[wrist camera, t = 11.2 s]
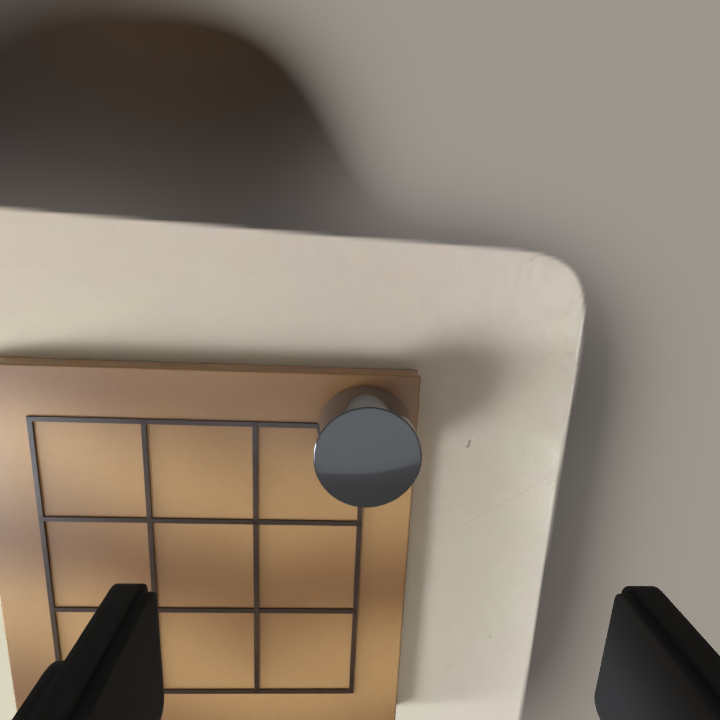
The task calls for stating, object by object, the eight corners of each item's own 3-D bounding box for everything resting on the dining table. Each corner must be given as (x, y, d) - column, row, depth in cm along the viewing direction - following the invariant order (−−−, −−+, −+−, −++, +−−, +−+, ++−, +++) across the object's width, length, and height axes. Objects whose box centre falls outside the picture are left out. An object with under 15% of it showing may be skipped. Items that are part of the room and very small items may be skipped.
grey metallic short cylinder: (317, 384, 22) (314, 405, 19) (414, 387, 22) (426, 408, 19) (315, 473, 23) (312, 507, 20) (408, 475, 23) (418, 509, 20)
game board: (-17, 356, 22) (-39, 362, 21) (417, 369, 23) (421, 377, 22) (32, 708, 27) (17, 731, 26) (392, 706, 28) (395, 729, 27)
